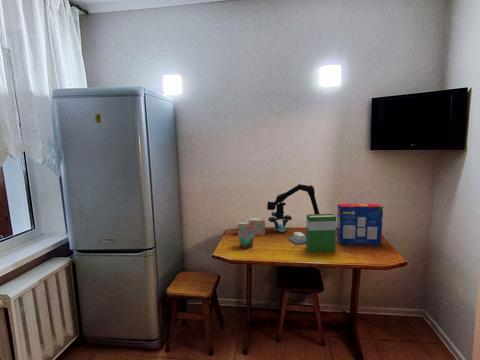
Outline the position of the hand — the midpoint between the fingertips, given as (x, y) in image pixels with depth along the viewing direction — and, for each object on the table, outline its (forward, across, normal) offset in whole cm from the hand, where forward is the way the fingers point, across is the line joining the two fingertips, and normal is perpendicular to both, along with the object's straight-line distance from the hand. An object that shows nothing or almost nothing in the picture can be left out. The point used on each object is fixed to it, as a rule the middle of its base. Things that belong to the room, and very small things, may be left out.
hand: (280, 228), depth 222 cm
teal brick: (+1, 0, 0) cm, 1 cm away
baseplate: (+3, -4, +24) cm, 24 cm away
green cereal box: (+3, -9, +43) cm, 44 cm away
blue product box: (+3, -41, +43) cm, 60 cm away
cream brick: (+1, -4, +24) cm, 24 cm away
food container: (+3, +38, +21) cm, 44 cm away
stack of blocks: (+3, +23, -4) cm, 24 cm away
